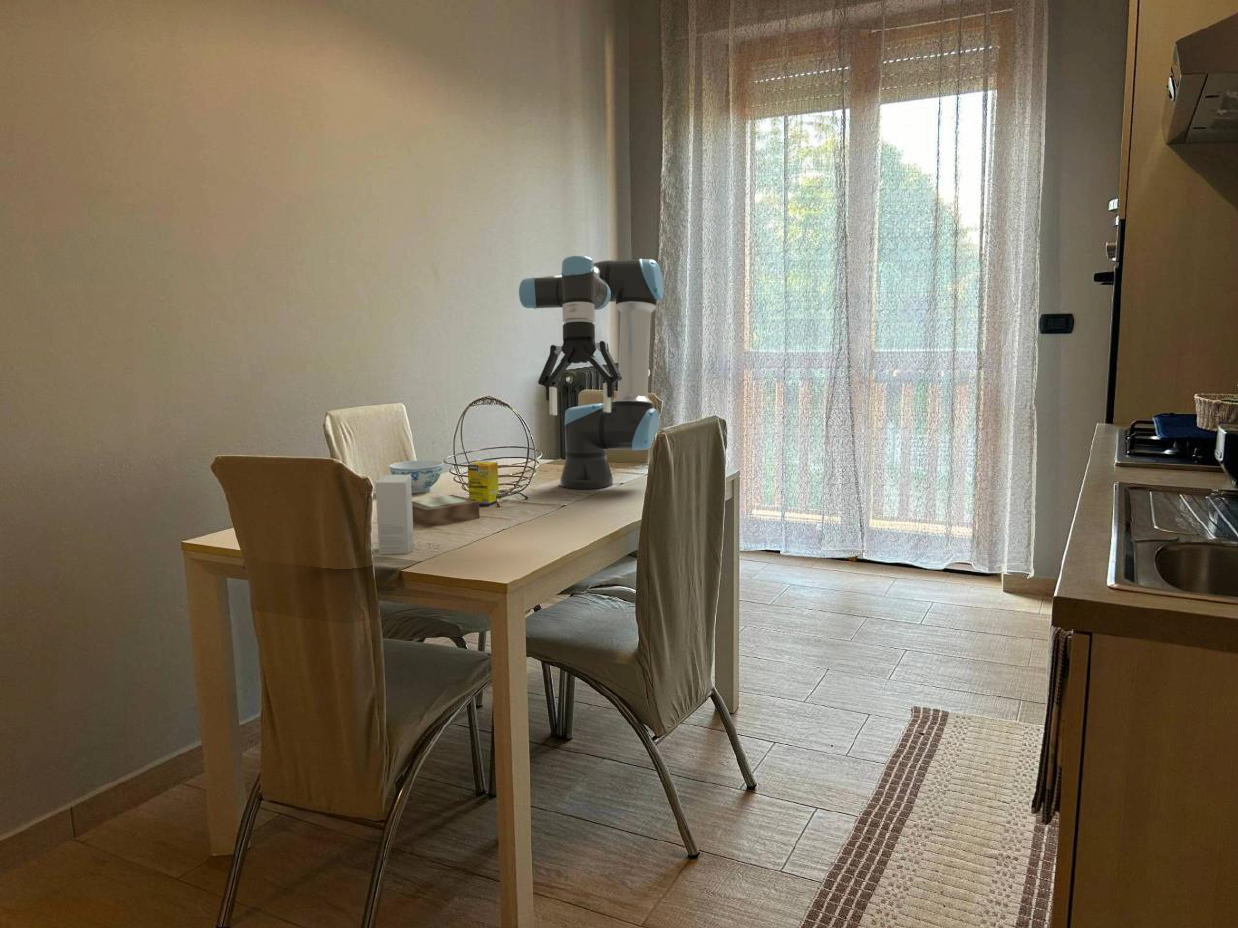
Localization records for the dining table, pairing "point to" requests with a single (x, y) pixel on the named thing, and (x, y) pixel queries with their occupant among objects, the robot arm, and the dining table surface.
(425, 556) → the dining table surface
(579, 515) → the dining table surface
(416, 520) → the flat brown box
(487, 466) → the supplement box
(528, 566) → the dining table surface
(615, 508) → the dining table surface
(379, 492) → the skincare box
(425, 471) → the chinaware
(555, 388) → the robot arm
